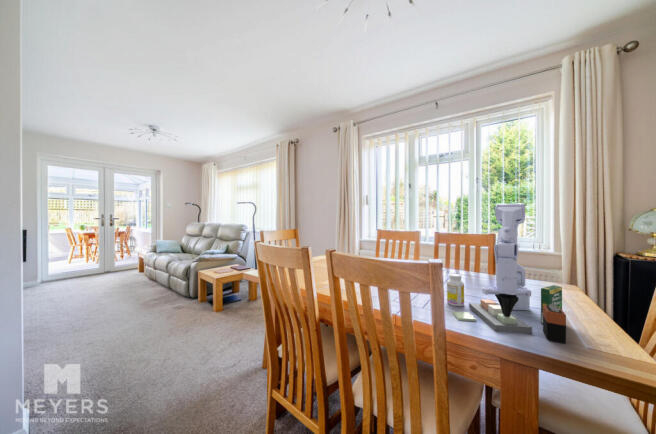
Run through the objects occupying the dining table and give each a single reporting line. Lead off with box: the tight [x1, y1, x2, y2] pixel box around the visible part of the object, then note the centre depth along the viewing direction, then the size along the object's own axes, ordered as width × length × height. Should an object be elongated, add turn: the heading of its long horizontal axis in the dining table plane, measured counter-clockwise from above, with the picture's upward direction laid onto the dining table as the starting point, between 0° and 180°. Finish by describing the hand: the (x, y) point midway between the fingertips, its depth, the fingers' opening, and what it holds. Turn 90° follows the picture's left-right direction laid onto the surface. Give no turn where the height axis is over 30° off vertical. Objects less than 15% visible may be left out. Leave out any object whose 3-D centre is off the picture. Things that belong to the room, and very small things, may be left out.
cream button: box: [488, 304, 503, 316], centre depth 88 cm, size 4×4×3 cm
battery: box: [542, 304, 567, 345], centre depth 75 cm, size 4×7×10 cm, turn 146°
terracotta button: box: [480, 298, 498, 310], centre depth 94 cm, size 4×4×3 cm
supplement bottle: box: [446, 273, 465, 307], centre depth 103 cm, size 7×7×13 cm
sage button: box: [497, 313, 516, 324], centre depth 82 cm, size 4×4×3 cm
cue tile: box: [452, 311, 477, 322], centre depth 90 cm, size 6×6×1 cm
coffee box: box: [540, 284, 563, 325], centre depth 85 cm, size 8×3×13 cm, turn 111°
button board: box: [468, 302, 533, 334], centre depth 88 cm, size 11×20×2 cm, turn 171°
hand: (506, 315), depth 82 cm, fingers closed
